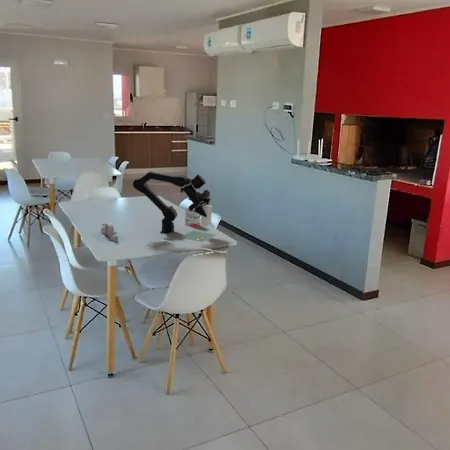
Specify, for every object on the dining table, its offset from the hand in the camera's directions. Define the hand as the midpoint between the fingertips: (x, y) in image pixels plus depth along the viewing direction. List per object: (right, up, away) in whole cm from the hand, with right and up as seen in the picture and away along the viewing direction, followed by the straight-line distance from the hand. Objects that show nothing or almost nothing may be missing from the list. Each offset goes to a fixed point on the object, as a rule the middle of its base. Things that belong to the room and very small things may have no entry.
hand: (208, 215), depth 266 cm
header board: (-6, -13, +3) cm, 14 cm away
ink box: (-11, -6, +27) cm, 30 cm away
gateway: (-56, -13, -6) cm, 58 cm away
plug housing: (-2, -5, +2) cm, 6 cm away
